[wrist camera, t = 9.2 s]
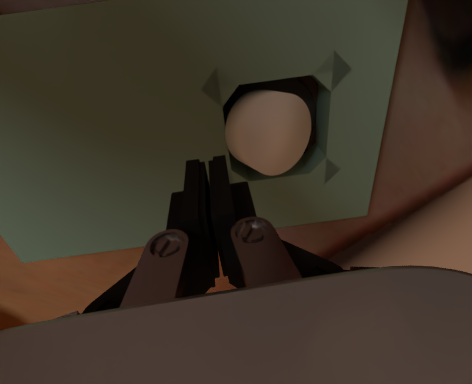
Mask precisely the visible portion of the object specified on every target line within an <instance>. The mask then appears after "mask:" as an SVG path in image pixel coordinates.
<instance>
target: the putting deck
mask: <svg viewBox="0 0 472 384" xmlns="http://www.w3.org/2000/svg"><path fill="white" fill-rule="evenodd" d="M407 4H408V0H106V1H99V2H92V3H84V4H77V5H70V6H63V7H55V8H48V9H41V10H33V11H26V12H19V13H12V14H4V15H0V235H1V236H2V238H3V239H4V240H5V242H6V243H7V244H8V245H9V247H10V248H11V249H12V250H13V252H14V253H15V254H16V255H17V257H18V258H19V259H20V260H21V262H22V263H25V262H32V261H40V260H47V259H54V258H62V257H69V256H76V255H84V254H91V253H98V252H105V251H113V250H120V249H127V248H135V247H142V246H146V244H147V242H148V241H149V240H150V239H151V238H152V237H153V236H154V235H156V234H157V233H159V232H162V231H165V230H166V226H167V219H168V213H169V206H170V200H171V194H172V193H173V192H179V191H183V189H184V179H185V168H186V161H188V160H194V159H199V160H200V162H203V161H204V162H205V165H206V170H207V175H208V180H209V165H208V161H210V160H213V157H214V156H221V155H225V157H226V163H227V170H228V176H229V182H230V184H232V183H238V182H245V181H247V182H248V185H249V189H250V193H251V197H252V200H253V204H254V208H255V212H256V215H257V217H261V218H264V219H266V220H268V221H269V222H270V223H271V224H272V225H273V227H274V228H281V227H288V226H296V225H303V224H310V223H318V222H325V221H332V220H340V219H347V218H354V217H362V216H367V213H368V208H369V203H370V198H371V192H372V187H373V182H374V177H375V171H376V166H377V161H378V156H379V150H380V145H381V140H382V135H383V129H384V124H385V119H386V114H387V109H388V103H389V98H390V93H391V88H392V82H393V77H394V72H395V67H396V61H397V56H398V51H399V46H400V40H401V35H402V30H403V25H404V19H405V14H406V9H407ZM307 75H310V76H311V77H312V78H313V79H314V80H315V81H316V82H317V83H318V89H317V109H315V103H314V100H313V98H312V95H311V93H310V92H309V90H308V89H307V88H306V87H305V86H304V85H303V84H302V83H301V82H300V81H298V80H297V79H295V78H293V77H300V76H307ZM242 84H244V85H243V86H242V87H241V88H240V89H239V90H238V91H237V93H236V94H235V95H234V97H233V99H232V101H231V103H230V105H229V108H228V112H227V117H228V115H229V112H230V110H231V108H232V107H233V105H234V104H235V102H236V101H237V100H238V99H239V98H240V97H241V96H242V95H244V94H245V93H247V92H249V91H251V90H255V89H266V90H272V91H278V92H284V93H290V94H294V95H296V96H298V97H300V98H301V99H302V100H303V101H304V102H305V104H306V105H307V107H308V109H309V112H310V116H311V133H312V130H313V128H314V124H315V118H316V130H315V143H314V144H313V145H312V146H311V147H310V148H309V149H308V150H307V151H306V152H305V153H304V154H303V155H302V156H301V158H300V159H299V160H298V162H297V163H296V164H295V165H294V166H293V167H292V168H290V169H289V170H287V171H286V172H284V173H282V174H279V175H274V176H270V175H265V174H262V173H260V172H258V171H257V170H255V169H253V168H251V167H249V166H248V165H244V164H243V163H241V162H240V161H238V160H237V159H235V158H234V157H233V156H231V155H230V154H229V149H228V147H227V144H226V139H225V120H224V113H223V105H224V104H225V103H226V101H227V100H228V99H229V97H230V96H231V95H232V93H233V92H234V91H235V89H236V88H237V87H238V85H242ZM226 121H227V120H226ZM311 133H310V135H311Z"/></svg>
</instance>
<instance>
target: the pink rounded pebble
mask: <svg viewBox="0 0 472 384" xmlns="http://www.w3.org/2000/svg"><path fill="white" fill-rule="evenodd" d="M310 133H311V116H310V112H309V109H308V107H307V105H306V104H305V102H304V101H303V100H302V99H301V98H300V97H298V96H296V95H294V94H290V93H284V92H278V91H272V90H266V89H255V90H251V91H249V92H247V93H245V94H244V95H242V96H241V97H240V98H239V99H238V100H237V101H236V102H235V104H234V105H233V107H232V108H231V110H230V112H229V115H228V117H227V121H226V126H225V139H226V144H227V147H228V149H229V151H230V153H231V154H232V155H233V156H234V157H235V158H236V159H237V160H239V161H240V162H242V163H244V164H246V165H248V166H249V167H251V168H253V169H255V170H257V171H258V172H260V173H262V174H265V175H270V176H274V175H279V174H282V173H284V172H286V171H287V170H289V169H290V168H292V167H293V166H294V165H295V164H296V163H297V162H298V160H299V159H300V158H301V156H302V155H303V153H304V151H305V149H306V147H307V144H308V142H309V138H310Z"/></svg>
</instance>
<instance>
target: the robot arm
mask: <svg viewBox="0 0 472 384" xmlns="http://www.w3.org/2000/svg"><path fill="white" fill-rule="evenodd" d="M208 165H209V180H208V175H207V170H206V165H205V162H204V161H203V162H200V160H199V159H194V160H188V161H186V168H185V179H184V189H183V191H179V192H173V193H172V194H171V200H170V206H169V213H168V219H167V226H166V230H165V231H162V232H159V233H157V234H156V235H154V236H153V237H152V238H151V239H150V240H149V241H148V242H147V244H146V246H145V248H144V251H143V253H142V255H141V258H140V260H139V262H138V265H137V267H136V268H134V269H133V270H132V271H131V272H129V273H128V274H127V275H126V276H124V277H123V278H122V279H121V280H119V281H118V282H117V283H116V284H114V285H113V286H112V287H111V288H109V289H108V290H107V291H106V292H104V293H103V294H102V295H100V296H99V297H98V298H97V299H95V300H94V301H93V302H92V303H91V304H90V305H89V306H88V307H86V308H85V310H84V311H83V313H81V314H80V313H79V312H78V311H75V312H72V313H70V314H67V315H64V316H61V317H58V318H56V319H52V320H47V321H42V322H36V323H31V324H27V325H22V326H17V327H12V328H8V329H4V330H0V384H472V274H470V273H467V272H463V271H458V270H452V269H446V268H439V267H431V266H390V267H381V268H379V267H350V270H343V269H342V268H341V267H340V266H338V265H336V264H334V263H333V262H330V261H328V260H326V259H324V258H321V257H319V256H317V255H315V254H312V253H310V252H308V251H306V250H303V249H301V248H299V247H297V246H294V245H292V244H290V243H288V242H286V241H283V240H281V239H280V238H279V236H278V234H277V232H276V230H275V229H274V227H273V225H272V224H271V223H270V222H269V221H268V220H266V219H264V218H261V217H257V215H256V212H255V208H254V204H253V200H252V197H251V193H250V189H249V185H248V182H247V181H245V182H238V183H232V184H230V182H229V176H228V170H227V163H226V157H225V155H221V156H214V157H213V160H210V161H208ZM218 252H219V256H220V261H221V266H222V270H223V275H224V276H228V279H229V283H230V284H232V285H233V286H235V287H236V288H237V289H231V290H225V291H219V292H213V293H206V292H207V291H208V290H209V289H210V288H211V287H215V278H218V277H220V274H219V259H218ZM205 293H206V294H205Z"/></svg>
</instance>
